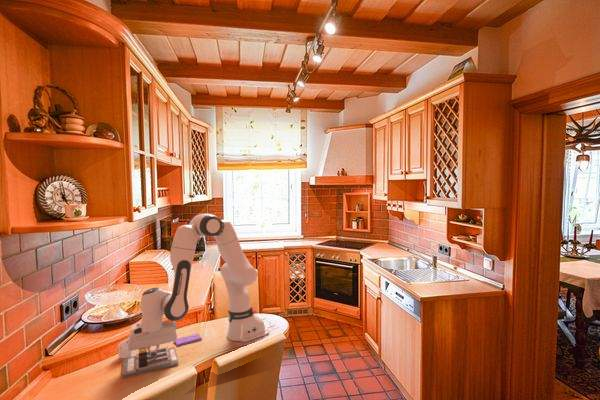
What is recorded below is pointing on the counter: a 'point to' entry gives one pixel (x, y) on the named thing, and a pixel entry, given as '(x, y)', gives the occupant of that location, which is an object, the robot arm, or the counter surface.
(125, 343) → the white angled block
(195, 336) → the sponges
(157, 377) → the counter surface
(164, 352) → the breaker panel
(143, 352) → the breaker
